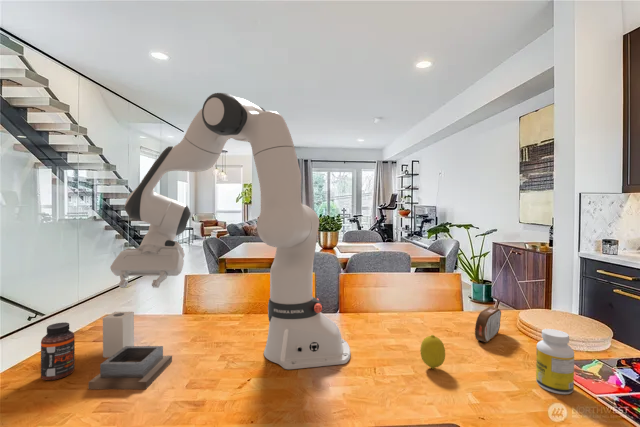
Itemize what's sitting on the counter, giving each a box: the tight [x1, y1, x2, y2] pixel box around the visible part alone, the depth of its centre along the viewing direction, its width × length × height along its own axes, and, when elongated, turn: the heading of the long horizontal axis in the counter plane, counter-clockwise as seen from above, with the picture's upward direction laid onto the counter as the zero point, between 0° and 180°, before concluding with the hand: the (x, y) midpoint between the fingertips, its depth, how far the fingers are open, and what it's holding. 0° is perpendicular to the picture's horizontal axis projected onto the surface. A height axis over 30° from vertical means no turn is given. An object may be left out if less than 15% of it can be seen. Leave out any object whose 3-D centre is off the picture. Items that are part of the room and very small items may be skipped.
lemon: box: [419, 334, 446, 370], centre depth 76 cm, size 6×6×8 cm
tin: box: [474, 305, 502, 343], centre depth 94 cm, size 15×3×8 cm, turn 135°
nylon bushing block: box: [102, 311, 135, 358], centre depth 84 cm, size 5×5×10 cm
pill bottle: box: [535, 328, 575, 395], centre depth 68 cm, size 6×6×12 cm
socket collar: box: [99, 345, 164, 378], centre depth 73 cm, size 9×9×3 cm
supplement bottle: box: [40, 321, 76, 381], centre depth 73 cm, size 6×6×11 cm
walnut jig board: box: [87, 355, 173, 390], centre depth 73 cm, size 12×12×2 cm
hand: (138, 286), depth 93 cm, fingers open, 8 cm apart
